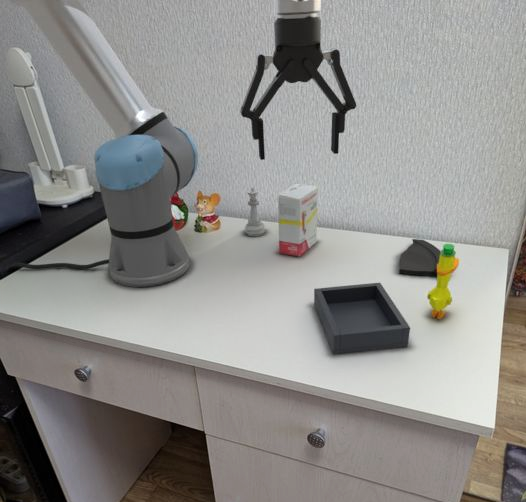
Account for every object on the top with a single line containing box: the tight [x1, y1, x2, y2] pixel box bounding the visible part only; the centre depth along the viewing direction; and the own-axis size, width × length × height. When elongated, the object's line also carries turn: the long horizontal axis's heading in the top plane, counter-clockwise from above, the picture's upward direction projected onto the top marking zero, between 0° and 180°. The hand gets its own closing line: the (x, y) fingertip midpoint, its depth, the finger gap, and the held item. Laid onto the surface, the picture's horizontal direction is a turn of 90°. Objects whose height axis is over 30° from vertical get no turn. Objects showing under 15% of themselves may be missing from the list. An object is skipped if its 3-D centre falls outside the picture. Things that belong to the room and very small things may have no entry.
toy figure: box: [426, 243, 460, 320], centre depth 75 cm, size 7×4×12 cm, turn 142°
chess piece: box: [244, 187, 266, 237], centre depth 106 cm, size 4×4×10 cm
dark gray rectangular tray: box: [313, 282, 411, 355], centre depth 76 cm, size 11×14×3 cm
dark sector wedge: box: [398, 238, 441, 277], centre depth 94 cm, size 8×14×2 cm, turn 163°
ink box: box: [277, 183, 319, 258], centre depth 98 cm, size 9×5×12 cm, turn 150°
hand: (298, 155), depth 91 cm, fingers open, 13 cm apart
